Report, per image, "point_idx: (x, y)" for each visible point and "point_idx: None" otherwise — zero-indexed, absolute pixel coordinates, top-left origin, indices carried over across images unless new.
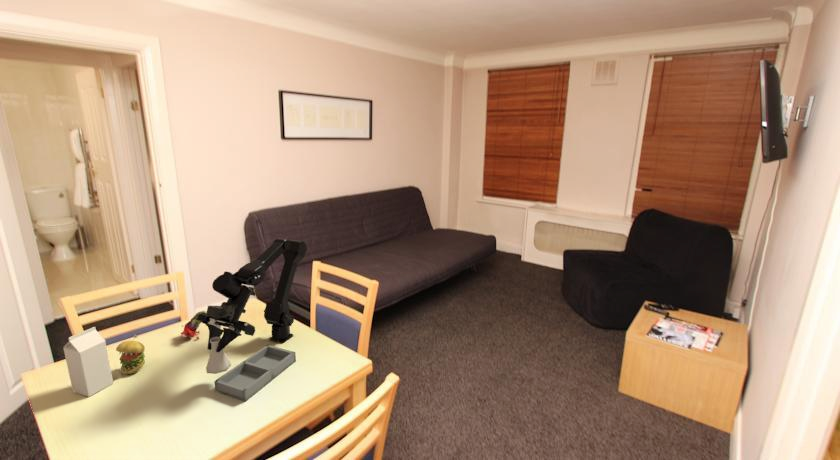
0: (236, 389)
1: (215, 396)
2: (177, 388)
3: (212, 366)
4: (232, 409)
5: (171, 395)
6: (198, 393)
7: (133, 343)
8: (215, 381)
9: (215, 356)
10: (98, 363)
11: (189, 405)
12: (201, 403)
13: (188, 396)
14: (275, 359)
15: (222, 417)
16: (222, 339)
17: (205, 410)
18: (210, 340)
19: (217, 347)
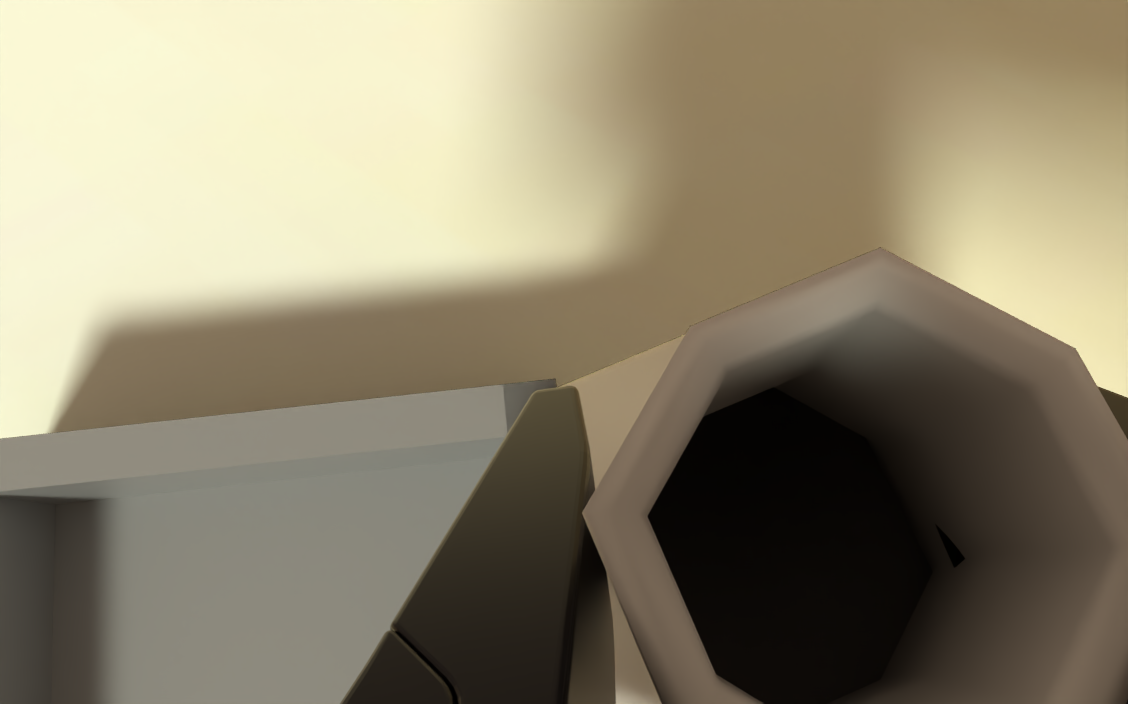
0: (101, 430)
1: (466, 343)
2: (1036, 205)
3: (637, 375)
4: (78, 292)
5: (954, 95)
6: (709, 275)
7: None
8: (534, 384)
9: (625, 420)
10: None
11: (592, 95)
12: (501, 181)
13: (760, 181)
14: None
15: (81, 154)
16: (445, 663)
17: (351, 132)
18: (978, 326)
19: (567, 434)
